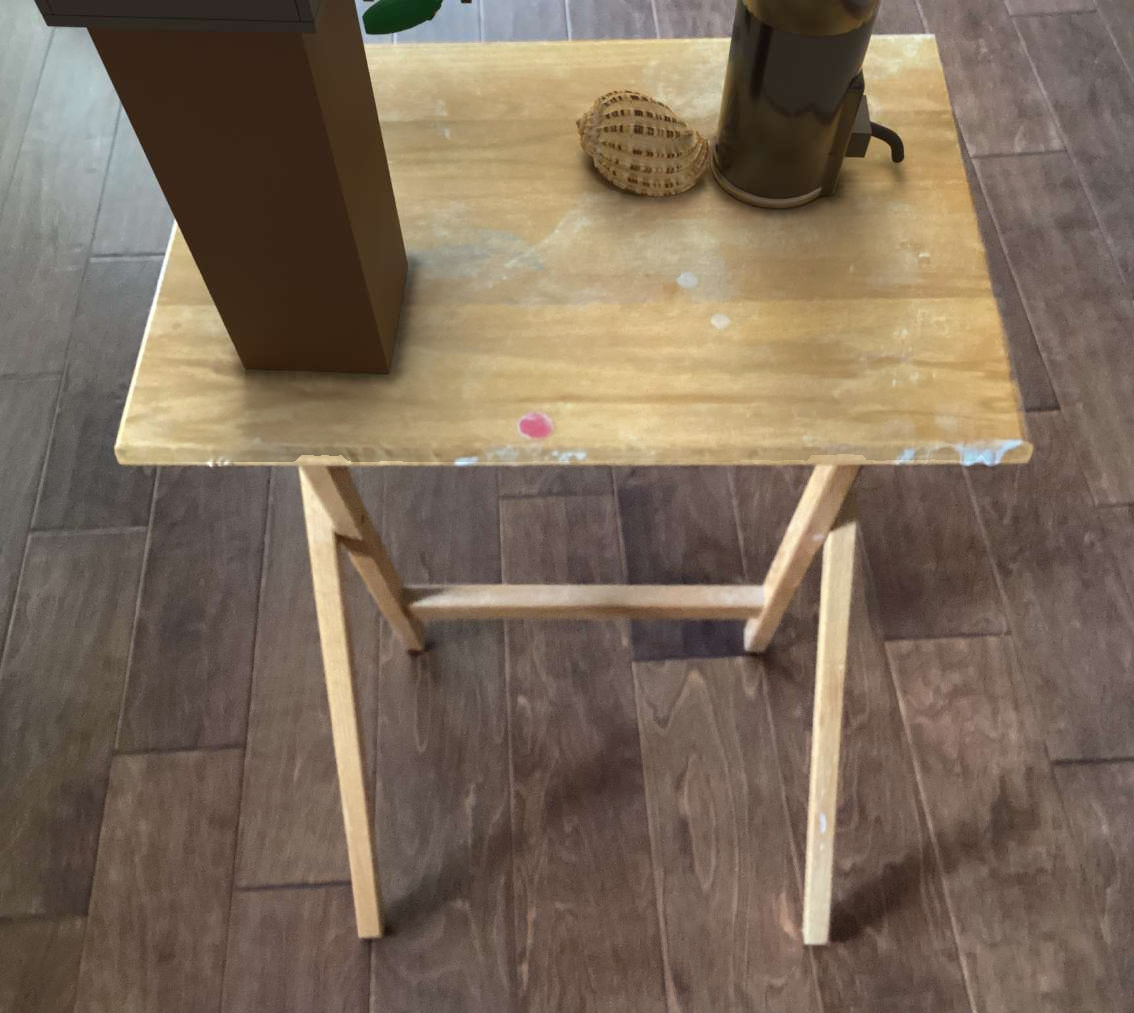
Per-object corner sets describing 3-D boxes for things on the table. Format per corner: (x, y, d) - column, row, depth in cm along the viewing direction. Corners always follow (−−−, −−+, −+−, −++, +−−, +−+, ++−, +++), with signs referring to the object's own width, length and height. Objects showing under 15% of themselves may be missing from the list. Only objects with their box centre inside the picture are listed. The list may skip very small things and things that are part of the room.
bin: (425, 254, 72) (336, -245, 45) (403, 387, 66) (285, -96, 39) (261, 248, 73) (73, -250, 45) (224, 381, 66) (-19, -103, 39)
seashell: (668, 154, 82) (560, 123, 77) (706, 94, 77) (593, 58, 73) (689, 220, 78) (576, 192, 73) (730, 162, 73) (613, 127, 69)
